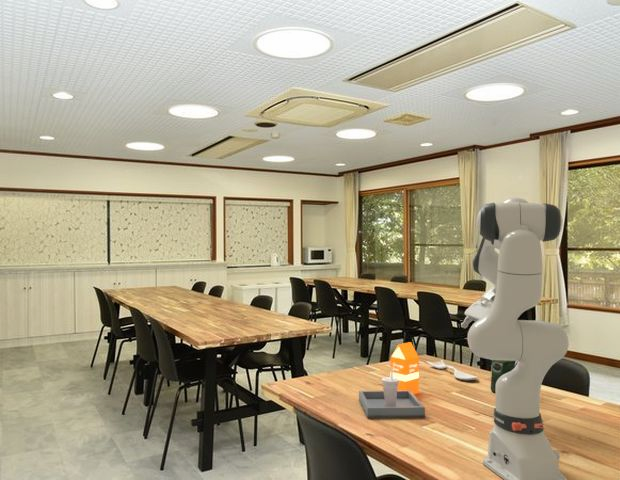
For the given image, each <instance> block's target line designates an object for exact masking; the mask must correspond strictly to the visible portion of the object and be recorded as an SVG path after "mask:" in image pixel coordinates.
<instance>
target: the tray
mask: <svg viewBox="0 0 620 480" xmlns="http://www.w3.org/2000/svg"><path fill="white" fill-rule="evenodd" d="M358 401H359V404H360V406H361V407H362V410H363V412H364V414H365V416H366V418H367V419H408V418H410V419H413V418H415V419H416V418H419V419H420V418H426V412H425V411H426V407H425V405H423V403H422V402H421V401H420V400H419V399H418V397H417V396H416V394H413V393H412V392H411V391H410V390H407V391H397V398H396V406H395V407H386V406H385V399H384V391H383V390H359V391H358Z"/></svg>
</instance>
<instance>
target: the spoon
mask: <svg viewBox="0 0 620 480" xmlns="http://www.w3.org/2000/svg"><path fill="white" fill-rule="evenodd" d="M426 364H428V365H430V366H431V367H434V368H436V369H440V370H442V369H446V368H448V369H449V370H452V371H454V374H453V376H454V377H455V378H457V379H458V380H461V381H474V380H476V379H479V378H478V376H476V375H472V374H470V373H466V372H463V371H460V370H458V369H457V368H456V367H454V366H451V365H450V364H449V365H447V364H446V363H445V362H444V360H443V359H440V360H439V361H434V362H432V361H428V360H426Z"/></svg>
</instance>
